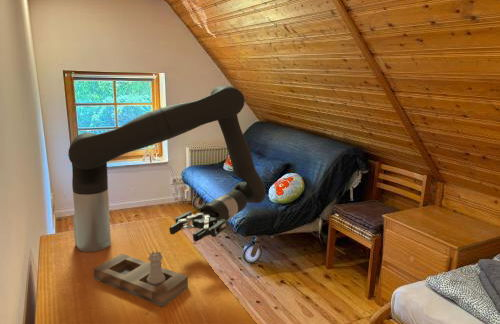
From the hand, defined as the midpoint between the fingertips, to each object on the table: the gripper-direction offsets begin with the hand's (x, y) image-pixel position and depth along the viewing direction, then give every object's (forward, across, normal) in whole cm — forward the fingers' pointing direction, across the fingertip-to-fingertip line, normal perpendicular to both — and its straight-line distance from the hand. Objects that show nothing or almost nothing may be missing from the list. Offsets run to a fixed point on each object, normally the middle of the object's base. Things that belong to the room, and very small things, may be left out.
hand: (182, 234), depth 96 cm
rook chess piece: (+12, +2, +7) cm, 14 cm away
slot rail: (+13, -3, +8) cm, 15 cm away
